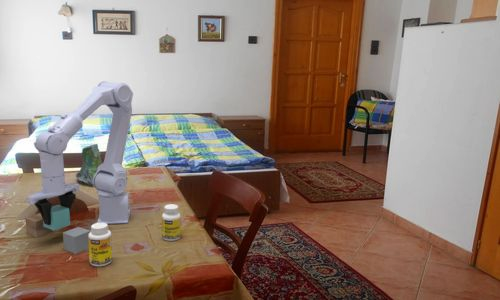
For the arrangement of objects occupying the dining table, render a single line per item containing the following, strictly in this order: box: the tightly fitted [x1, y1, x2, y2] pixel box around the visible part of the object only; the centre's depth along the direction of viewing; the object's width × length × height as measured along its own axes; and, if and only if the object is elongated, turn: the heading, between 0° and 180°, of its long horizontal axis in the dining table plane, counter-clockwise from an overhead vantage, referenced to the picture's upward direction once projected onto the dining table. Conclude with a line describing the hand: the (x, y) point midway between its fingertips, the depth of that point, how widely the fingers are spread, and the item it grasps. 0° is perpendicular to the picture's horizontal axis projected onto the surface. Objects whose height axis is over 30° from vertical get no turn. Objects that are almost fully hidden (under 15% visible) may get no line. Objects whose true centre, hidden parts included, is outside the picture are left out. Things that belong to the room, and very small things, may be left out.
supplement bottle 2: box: [161, 203, 182, 242], centre depth 124 cm, size 5×5×10 cm
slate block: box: [62, 226, 91, 255], centre depth 116 cm, size 5×5×5 cm
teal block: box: [43, 204, 71, 232], centre depth 120 cm, size 5×5×5 cm
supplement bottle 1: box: [88, 222, 113, 267], centre depth 108 cm, size 6×6×10 cm
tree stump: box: [75, 143, 128, 188], centre depth 176 cm, size 18×20×18 cm
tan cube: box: [24, 212, 53, 238], centre depth 125 cm, size 5×5×5 cm
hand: (56, 220), depth 120 cm, fingers closed on teal block, 5 cm apart
